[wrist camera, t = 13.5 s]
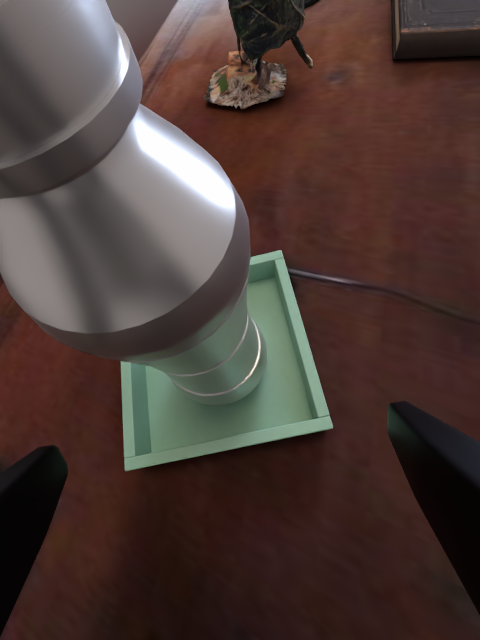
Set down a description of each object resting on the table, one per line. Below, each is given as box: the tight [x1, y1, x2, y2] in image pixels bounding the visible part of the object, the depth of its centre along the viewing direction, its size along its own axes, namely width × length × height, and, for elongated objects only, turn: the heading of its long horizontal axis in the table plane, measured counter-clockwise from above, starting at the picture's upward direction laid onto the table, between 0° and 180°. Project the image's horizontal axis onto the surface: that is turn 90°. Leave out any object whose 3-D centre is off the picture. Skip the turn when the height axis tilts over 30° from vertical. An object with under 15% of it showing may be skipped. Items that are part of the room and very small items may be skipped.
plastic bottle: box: [0, 0, 267, 406], centre depth 12 cm, size 6×7×20 cm
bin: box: [121, 250, 333, 471], centre depth 21 cm, size 12×12×3 cm
